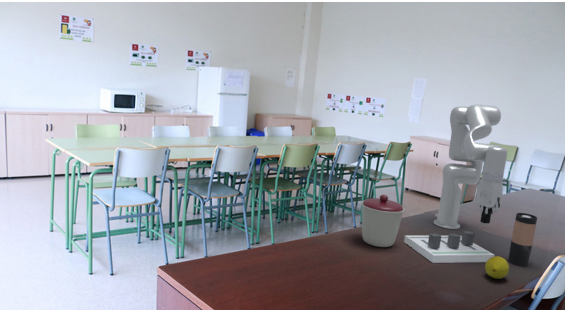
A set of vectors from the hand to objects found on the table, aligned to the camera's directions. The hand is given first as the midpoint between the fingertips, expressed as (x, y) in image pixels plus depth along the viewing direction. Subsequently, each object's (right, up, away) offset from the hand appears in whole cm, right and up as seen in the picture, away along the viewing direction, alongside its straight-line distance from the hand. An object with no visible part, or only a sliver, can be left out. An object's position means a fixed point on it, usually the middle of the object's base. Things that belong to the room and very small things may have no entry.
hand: (484, 222), depth 181 cm
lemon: (-3, -18, -15) cm, 24 cm away
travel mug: (+15, -17, +3) cm, 23 cm away
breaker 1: (-20, -10, +3) cm, 22 cm away
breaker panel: (-12, -13, +8) cm, 20 cm away
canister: (-41, -10, +11) cm, 43 cm away
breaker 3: (-3, -11, +10) cm, 15 cm away
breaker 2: (-11, -11, +5) cm, 16 cm away
